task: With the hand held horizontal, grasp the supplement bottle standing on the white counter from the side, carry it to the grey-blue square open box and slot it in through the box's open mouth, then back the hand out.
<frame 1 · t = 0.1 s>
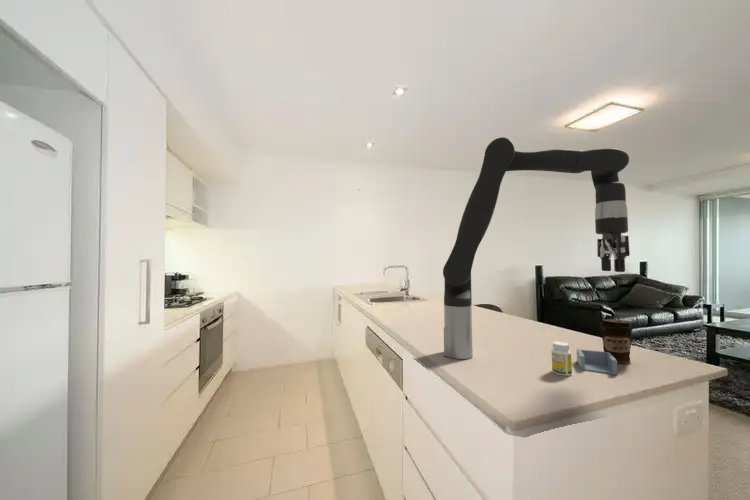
hand: (612, 271, 84), 29 cm above the worktop, tool pointing down, fingers open, 8 cm apart
coffee cup: (617, 361, 91), on the worktop
grey-blue square open box: (595, 367, 85), on the worktop
supplement bottle: (562, 373, 81), on the worktop
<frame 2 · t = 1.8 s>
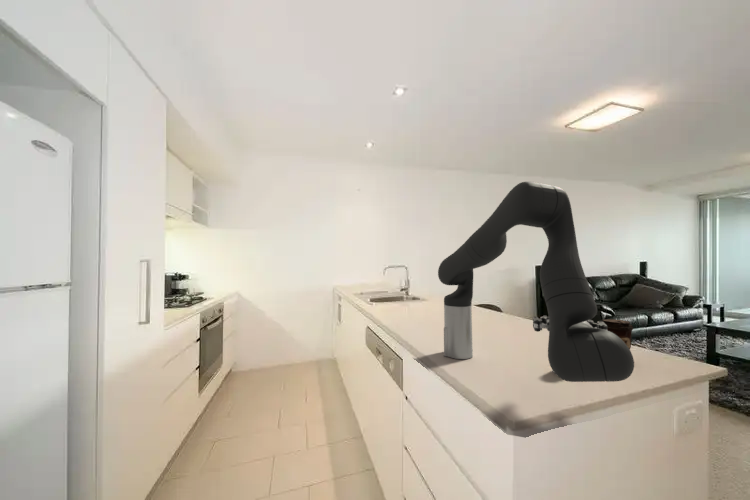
hand: (564, 320, 72), 17 cm above the worktop, tool horizontal, fingers open, 8 cm apart
nothing on the worktop moved.
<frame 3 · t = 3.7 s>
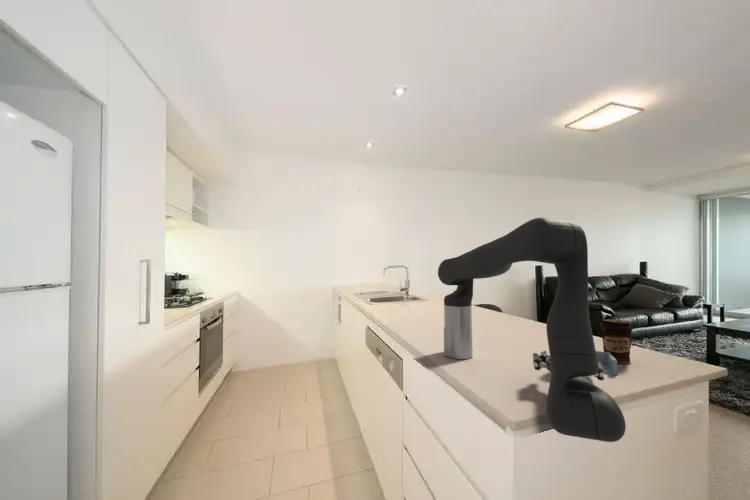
hand: (563, 356, 76), 6 cm above the worktop, tool horizontal, fingers open, 8 cm apart
nothing on the worktop moved.
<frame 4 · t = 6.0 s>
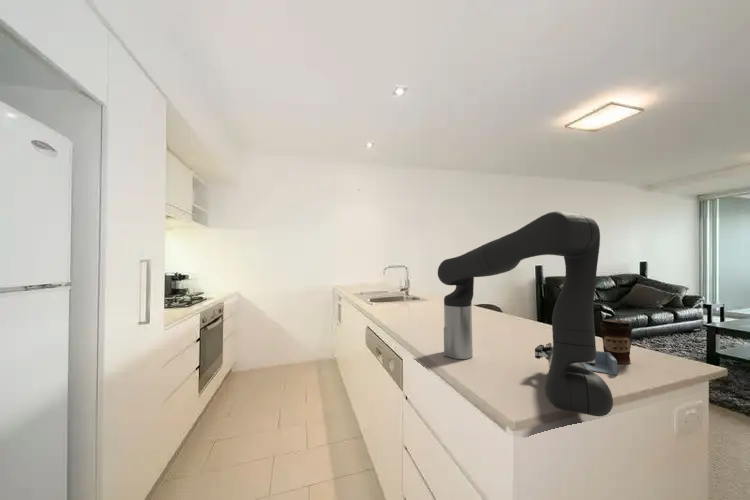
hand: (560, 347, 84), 7 cm above the worktop, tool horizontal, fingers closed on supplement bottle, 4 cm apart
supplement bottle: (562, 373, 81), on the worktop, touching gripper
everything else where it was.
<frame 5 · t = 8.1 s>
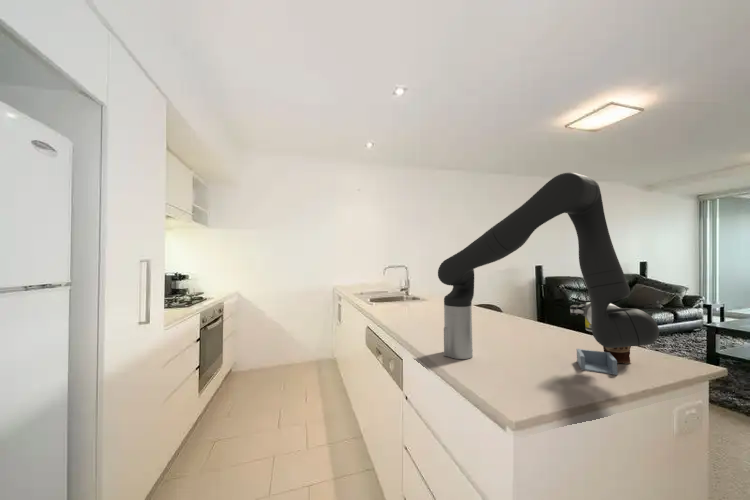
hand: (592, 308, 88), 18 cm above the worktop, tool horizontal, fingers closed on supplement bottle, 4 cm apart
supplement bottle: (595, 331, 85), point 11 cm above the worktop, touching gripper
everything else where it was.
when the fingers open (8 cm above the worktop, at t = 10.3 s): supplement bottle stays where it is, resting on grey-blue square open box.
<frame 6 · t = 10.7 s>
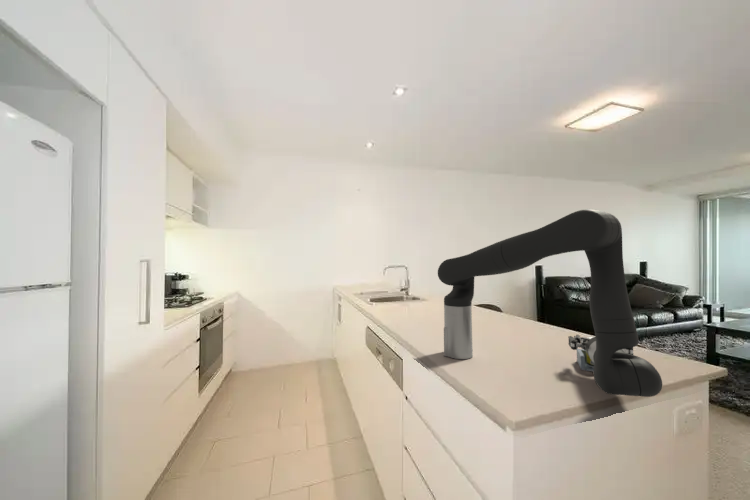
hand: (593, 339, 87), 8 cm above the worktop, tool horizontal, fingers open, 8 cm apart
supplement bottle: (596, 367, 85), resting on grey-blue square open box
everything else where it was.
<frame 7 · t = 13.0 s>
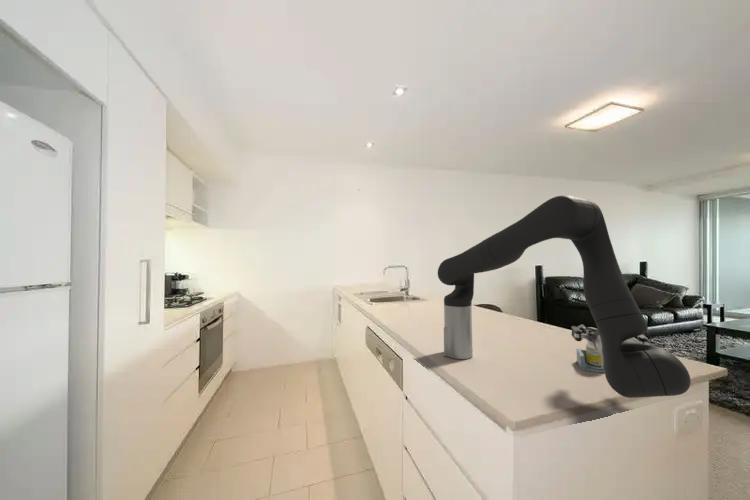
hand: (600, 330, 76), 13 cm above the worktop, tool horizontal, fingers open, 8 cm apart
nothing on the worktop moved.
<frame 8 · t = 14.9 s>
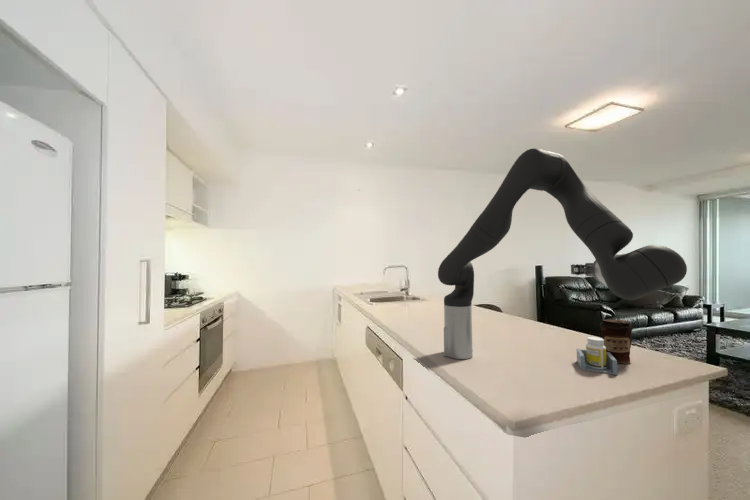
hand: (600, 269, 77), 30 cm above the worktop, tool horizontal, fingers open, 8 cm apart
nothing on the worktop moved.
at the end: supplement bottle 0.3 cm off-centre on the grey-blue square open box, point 0.2 cm above the grey-blue square open box's base; supplement bottle tilted 0°; the gripper is holding nothing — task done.
